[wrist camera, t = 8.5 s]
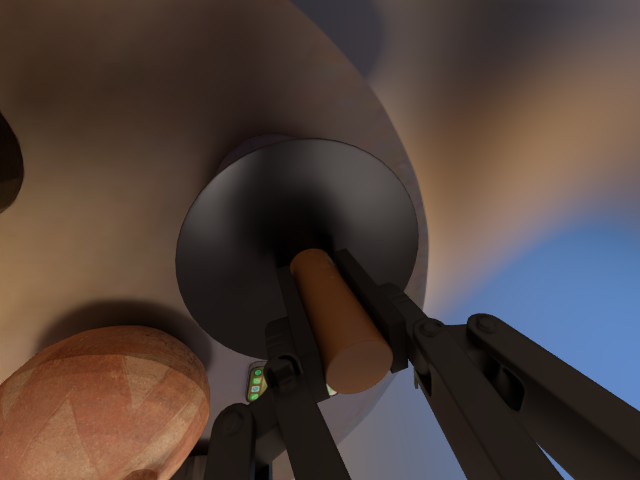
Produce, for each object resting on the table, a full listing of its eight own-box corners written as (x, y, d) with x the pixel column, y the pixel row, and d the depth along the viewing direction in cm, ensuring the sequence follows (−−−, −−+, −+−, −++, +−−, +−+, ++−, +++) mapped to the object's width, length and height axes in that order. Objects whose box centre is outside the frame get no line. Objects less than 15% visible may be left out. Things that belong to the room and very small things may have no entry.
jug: (203, 287, 33) (162, 486, 15) (222, 392, 40) (210, 609, 22) (10, 312, 28) (-379, 642, 10) (72, 425, 35) (-95, 734, 18)
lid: (128, 172, 14) (-28, 245, 6) (406, 112, 16) (570, 105, 8) (228, 377, 21) (221, 542, 12) (412, 312, 23) (505, 414, 15)
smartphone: (250, 366, 38) (348, 361, 43) (250, 360, 39) (346, 356, 44) (244, 403, 41) (338, 395, 45) (244, 397, 42) (336, 390, 46)
